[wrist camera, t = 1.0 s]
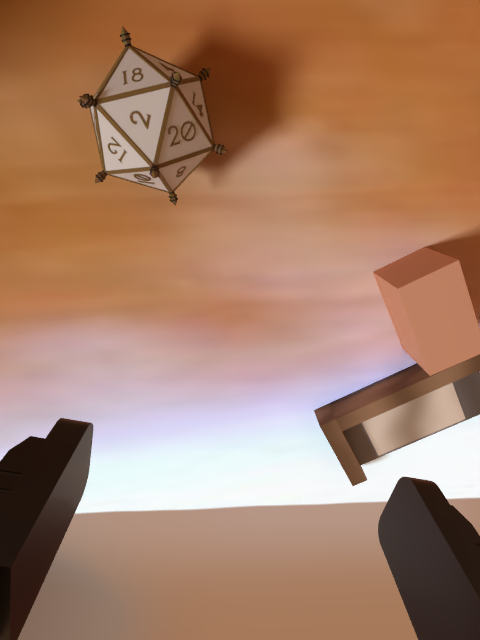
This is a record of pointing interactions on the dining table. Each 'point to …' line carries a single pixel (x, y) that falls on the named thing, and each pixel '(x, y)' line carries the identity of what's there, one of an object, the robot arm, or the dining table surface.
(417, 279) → the block
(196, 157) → the game die
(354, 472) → the tray
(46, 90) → the dining table surface
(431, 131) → the dining table surface
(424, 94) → the dining table surface
